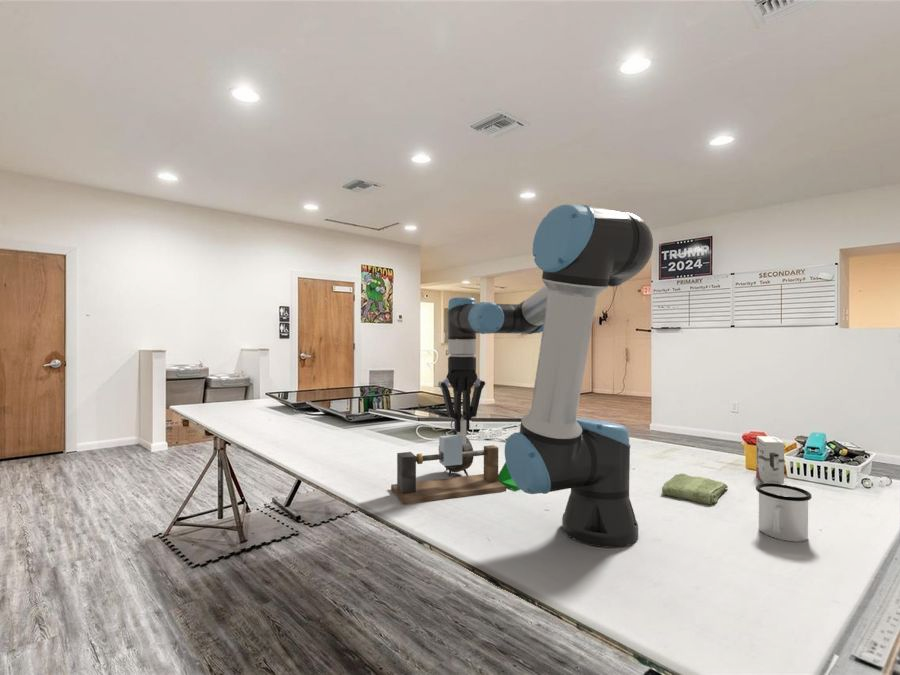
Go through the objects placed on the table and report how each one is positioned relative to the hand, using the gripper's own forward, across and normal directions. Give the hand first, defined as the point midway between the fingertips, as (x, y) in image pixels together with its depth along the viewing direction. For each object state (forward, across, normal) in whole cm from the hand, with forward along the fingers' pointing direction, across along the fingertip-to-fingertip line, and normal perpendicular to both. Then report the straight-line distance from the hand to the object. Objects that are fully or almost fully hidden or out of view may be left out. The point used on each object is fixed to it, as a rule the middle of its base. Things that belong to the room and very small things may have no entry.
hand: (461, 443), depth 126 cm
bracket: (+13, -17, +1) cm, 21 cm away
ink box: (+12, -85, +23) cm, 89 cm away
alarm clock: (+12, -3, -12) cm, 17 cm away
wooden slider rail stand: (+12, +4, 0) cm, 13 cm away
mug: (+12, -50, +50) cm, 72 cm away
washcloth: (+13, -56, +24) cm, 62 cm away
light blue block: (+5, +3, 0) cm, 6 cm away
